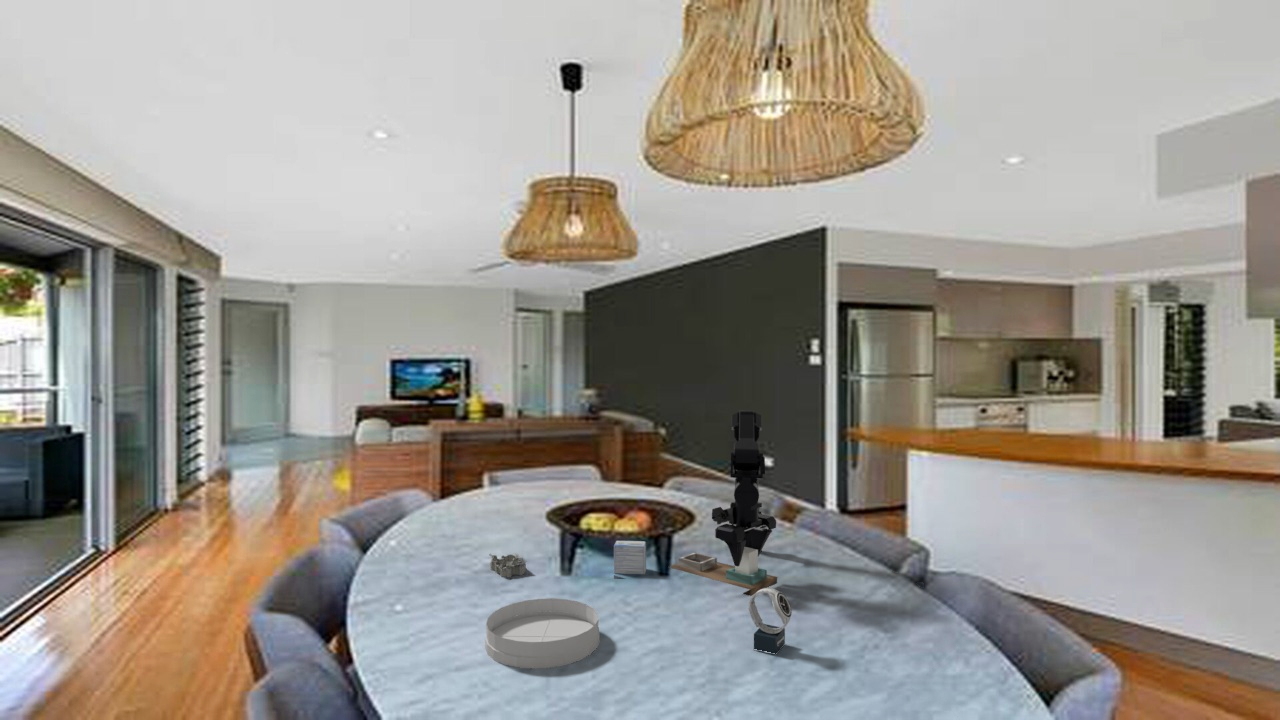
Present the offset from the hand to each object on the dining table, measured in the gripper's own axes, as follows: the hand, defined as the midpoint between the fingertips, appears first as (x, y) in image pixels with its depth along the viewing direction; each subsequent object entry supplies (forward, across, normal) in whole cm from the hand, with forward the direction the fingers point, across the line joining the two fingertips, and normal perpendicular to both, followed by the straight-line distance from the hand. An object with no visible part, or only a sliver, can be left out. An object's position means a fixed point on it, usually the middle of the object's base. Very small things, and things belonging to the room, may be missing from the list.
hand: (746, 562), depth 165 cm
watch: (+6, +27, +23) cm, 36 cm away
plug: (+4, 0, 0) cm, 4 cm away
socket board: (+6, 0, -8) cm, 9 cm away
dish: (+6, +55, -11) cm, 56 cm away
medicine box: (+6, +15, -25) cm, 30 cm away
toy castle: (+6, +33, -52) cm, 62 cm away
